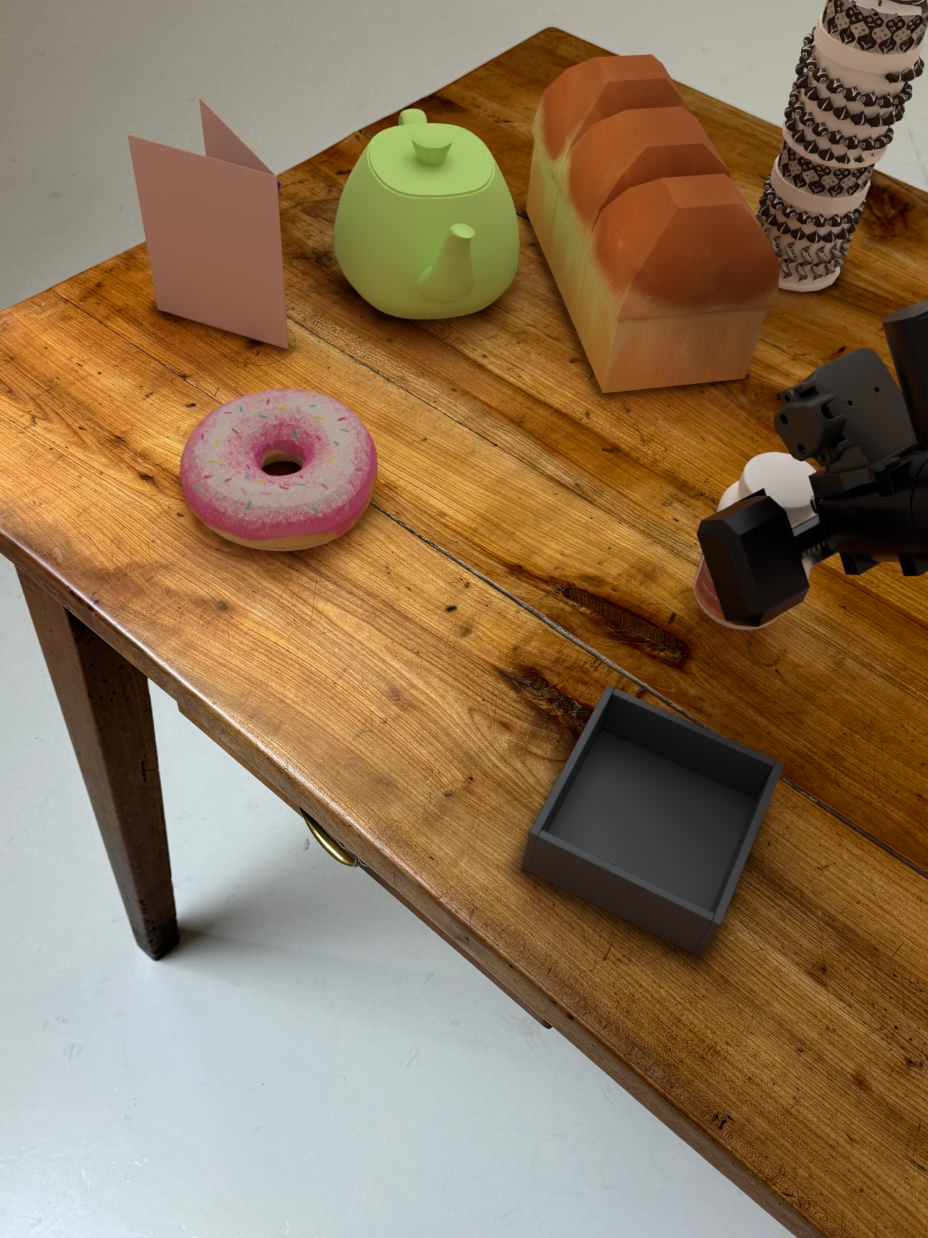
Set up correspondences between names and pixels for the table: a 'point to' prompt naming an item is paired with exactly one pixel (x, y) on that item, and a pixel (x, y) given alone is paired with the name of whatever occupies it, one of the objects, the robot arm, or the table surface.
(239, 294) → the greeting card
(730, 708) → the table surface
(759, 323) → the bread
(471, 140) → the teapot
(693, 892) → the bin
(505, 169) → the table surface
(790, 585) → the robot arm
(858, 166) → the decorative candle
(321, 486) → the donut
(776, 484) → the pill bottle
